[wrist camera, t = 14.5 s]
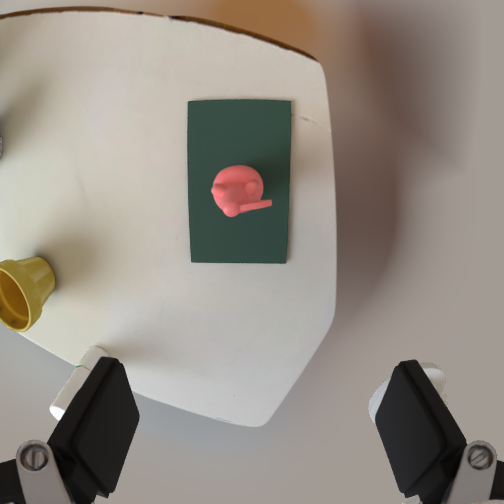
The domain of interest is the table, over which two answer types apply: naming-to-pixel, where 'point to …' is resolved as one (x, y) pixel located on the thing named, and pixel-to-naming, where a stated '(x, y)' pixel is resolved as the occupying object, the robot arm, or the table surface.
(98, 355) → the tube
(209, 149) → the mat
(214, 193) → the figurine
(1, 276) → the flower pot
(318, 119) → the table surface
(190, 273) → the table surface
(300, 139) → the table surface
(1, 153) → the ceramic cup
